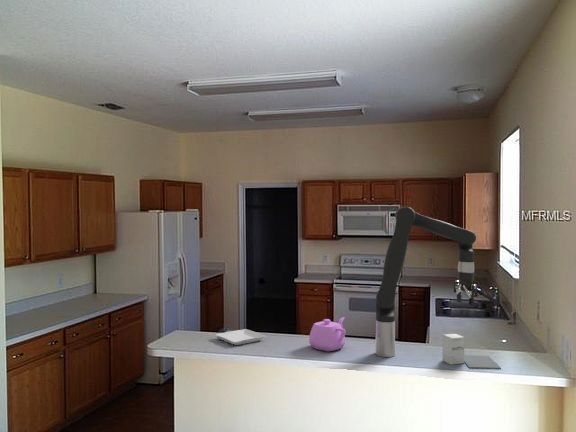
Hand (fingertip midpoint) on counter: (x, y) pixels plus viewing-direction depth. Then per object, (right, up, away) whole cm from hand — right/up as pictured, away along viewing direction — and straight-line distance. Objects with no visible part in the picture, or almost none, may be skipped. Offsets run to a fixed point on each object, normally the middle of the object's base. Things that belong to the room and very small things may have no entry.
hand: (464, 303), depth 239 cm
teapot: (-66, -27, +19) cm, 73 cm away
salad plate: (-113, -27, +34) cm, 121 cm away
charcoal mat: (+4, -27, -7) cm, 28 cm away
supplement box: (-8, -27, -6) cm, 29 cm away
